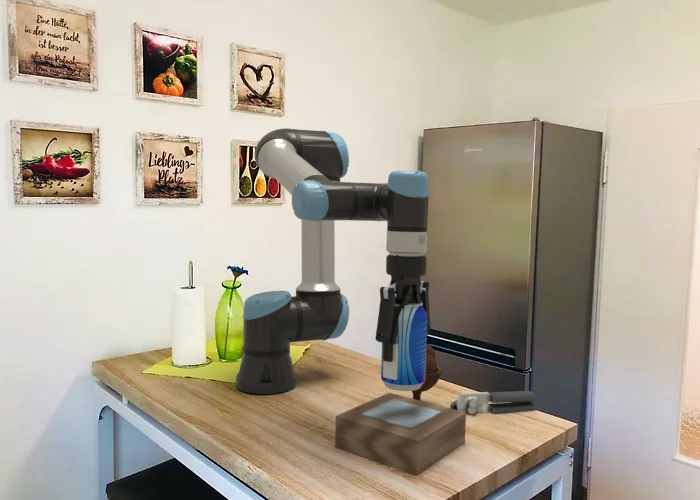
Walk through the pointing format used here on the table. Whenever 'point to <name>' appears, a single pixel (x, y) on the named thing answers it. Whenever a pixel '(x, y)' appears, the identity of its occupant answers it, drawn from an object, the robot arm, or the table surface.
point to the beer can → (410, 349)
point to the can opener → (480, 399)
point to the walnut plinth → (401, 432)
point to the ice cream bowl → (429, 373)
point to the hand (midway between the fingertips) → (403, 372)
